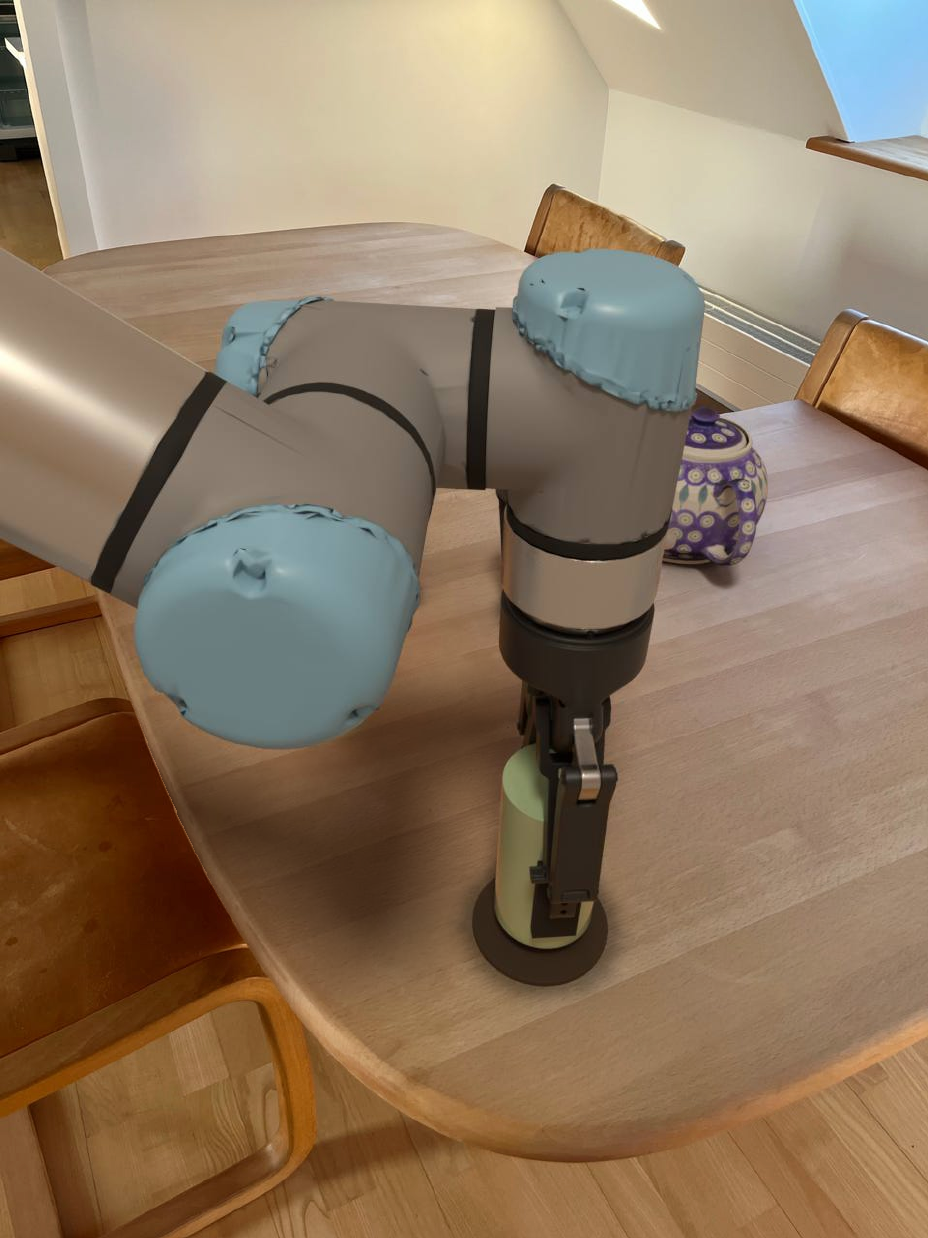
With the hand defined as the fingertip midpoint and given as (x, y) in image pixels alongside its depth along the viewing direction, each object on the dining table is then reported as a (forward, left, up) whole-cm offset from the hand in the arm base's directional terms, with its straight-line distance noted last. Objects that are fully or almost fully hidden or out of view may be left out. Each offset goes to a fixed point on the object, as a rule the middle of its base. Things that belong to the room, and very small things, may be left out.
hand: (544, 882), depth 60 cm
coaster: (0, 0, -5) cm, 5 cm away
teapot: (+22, +46, -5) cm, 51 cm away
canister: (0, 0, -2) cm, 2 cm away
